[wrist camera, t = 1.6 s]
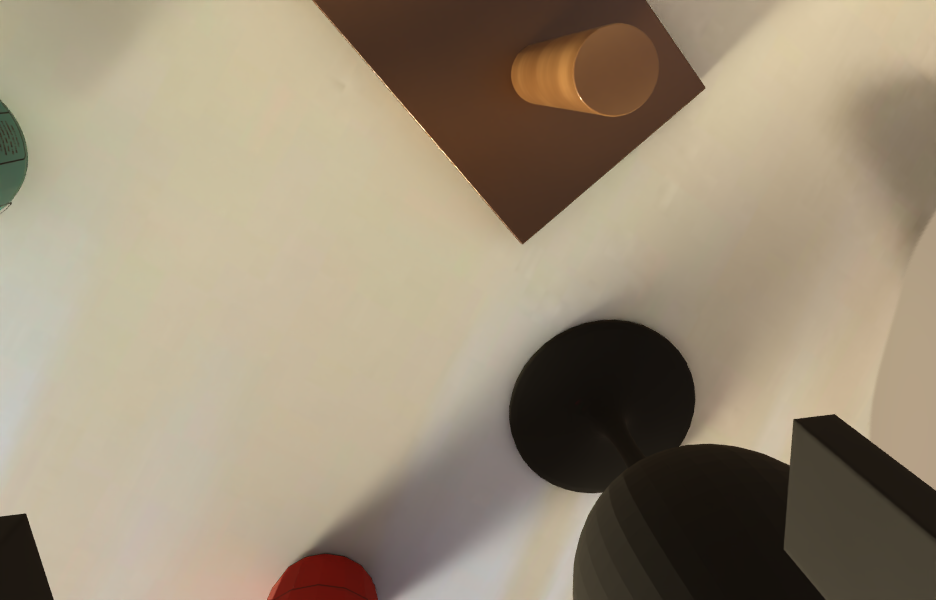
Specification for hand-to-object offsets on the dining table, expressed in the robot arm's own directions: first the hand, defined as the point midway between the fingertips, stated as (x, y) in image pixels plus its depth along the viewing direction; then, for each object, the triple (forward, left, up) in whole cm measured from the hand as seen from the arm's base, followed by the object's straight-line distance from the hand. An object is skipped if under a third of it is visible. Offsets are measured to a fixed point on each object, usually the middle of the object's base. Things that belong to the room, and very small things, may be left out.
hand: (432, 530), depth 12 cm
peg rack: (-7, +10, -23) cm, 26 cm away
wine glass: (+14, +2, -23) cm, 27 cm away
